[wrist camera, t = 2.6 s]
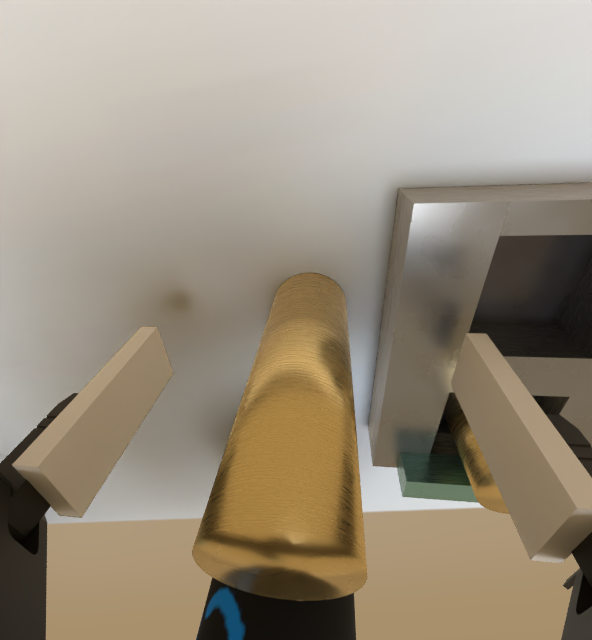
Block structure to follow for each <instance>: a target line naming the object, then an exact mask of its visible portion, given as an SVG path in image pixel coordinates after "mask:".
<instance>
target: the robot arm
mask: <svg viewBox="0 0 592 640" xmlns="http://www.w3.org/2000/svg"><path fill="white" fill-rule="evenodd" d="M172 375H173V370H172V367H171V364H170V362H169V359H168V356H167V353H166V350H165V347H164V345H163V342H162V339H161V336H160V333H159V330H158V327H141V328H140V329H139V330H138V331H137V332H136V333H135V334H134V335H133V336H132V337H131V338H130V339H129V340H128V341H127V343H126V344H125V345H124V346H123V347H122V348H121V349H120V350H119V351H118V352H117V353H116V354H115V355H114V356H113V357H112V359H111V360H110V361H109V362H108V363H107V364H106V365H105V366H104V367H103V368H102V369H101V370H100V371H99V372H98V373H97V375H96V376H95V377H94V378H93V379H92V380H91V381H90V382H89V383H88V384H87V385H86V386H85V387H84V388H83V389H82V391H81V392H80V393H79V394H78V393H74V394H72V395H71V396H69V397H68V398H66V399H65V400H63V401H62V402H60V403H59V404H58V405H57V406H56V407H55V408H54V409H53V410H52V411H51V412H50V413H49V414H48V415H47V418H44V419H43V420H42V421H41V422H40V423H39V424H38V425H37V428H34V429H33V430H32V431H31V432H30V434H29V435H28V436H27V437H26V438H25V439H24V440H23V441H22V442H21V443H20V444H19V445H18V446H17V447H16V448H15V449H14V450H13V451H12V452H11V453H10V454H9V455H8V456H7V457H6V458H5V459H4V460H3V461H2V462H1V463H0V640H46V639H45V638H46V637H45V636H46V568H47V565H46V563H47V521H46V518H45V516H44V514H45V513H46V511H47V510H48V509H49V507H50V506H51V507H52V508H53V509H54V510H55V511H56V512H57V513H58V515H59V516H69V517H80V518H82V516H83V515H84V513H85V512H86V510H87V508H88V507H89V505H90V504H91V502H92V500H93V499H94V497H95V496H96V494H97V493H98V491H99V489H100V488H101V486H102V485H103V483H104V482H105V480H106V478H107V477H108V475H109V474H110V472H111V471H112V469H113V467H114V466H115V464H116V463H117V461H118V460H119V458H120V456H121V455H122V453H123V452H124V450H125V449H126V447H127V445H128V444H129V442H130V441H131V439H132V438H133V436H134V434H135V433H136V431H137V430H138V428H139V426H140V425H141V423H142V422H143V420H144V419H145V417H146V415H147V414H148V412H149V411H150V409H151V408H152V406H153V404H154V403H155V401H156V400H157V398H158V397H159V395H160V393H161V392H162V390H163V389H164V387H165V386H166V384H167V382H168V381H169V379H170V378H171V376H172ZM451 386H452V388H453V390H454V392H455V395H456V397H457V399H458V401H459V403H460V406H461V408H462V410H463V412H464V414H465V417H466V419H467V421H468V423H469V425H470V428H471V430H472V432H473V434H474V436H475V439H476V441H477V443H478V445H479V447H480V450H481V452H482V454H483V456H484V458H485V461H486V463H487V465H488V467H489V469H490V472H491V474H492V476H493V478H494V480H495V483H496V485H497V487H498V489H499V491H500V494H501V496H502V498H503V500H504V503H505V505H506V507H507V509H508V511H509V514H510V516H511V518H512V520H513V522H514V525H515V527H516V529H517V531H518V533H519V535H520V538H521V540H522V542H523V544H524V547H525V549H526V551H527V553H528V555H529V558H530V560H537V561H547V562H557V563H562V562H563V561H564V560H565V559H566V558H567V557H568V556H569V555H570V554H571V553H572V554H573V556H574V557H575V559H576V561H577V563H578V564H579V566H580V569H579V570H578V571H576V572H575V573H574V574H573V575H572V576H571V577H569V578H568V579H567V580H566V582H565V583H564V585H563V586H564V587H565V588H567V589H570V588H571V587H572V586H573V590H572V595H571V599H570V603H569V607H568V612H567V617H566V621H565V626H564V630H563V634H562V639H561V640H592V447H591V444H590V443H589V442H588V440H587V439H586V438H585V437H584V435H583V434H582V433H581V432H580V430H579V429H578V428H576V427H575V426H574V425H573V424H571V423H570V422H569V421H567V420H566V419H565V418H564V417H562V416H561V415H551V414H545V413H544V412H543V410H542V409H541V408H540V406H539V405H538V404H537V402H536V401H535V399H534V398H533V397H532V395H531V394H530V393H529V391H528V390H527V389H526V387H525V386H524V384H523V383H522V382H521V380H520V379H519V378H518V376H517V375H516V373H515V372H514V371H513V369H512V368H511V367H510V365H509V364H508V363H507V361H506V360H505V358H504V357H503V356H502V354H501V353H500V352H499V350H498V349H497V347H496V346H495V345H494V343H493V342H492V341H491V339H490V338H489V337H488V335H487V334H481V333H466V335H465V338H464V341H463V345H462V348H461V351H460V354H459V357H458V361H457V364H456V367H455V370H454V373H453V376H452V380H451Z"/></svg>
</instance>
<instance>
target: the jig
mask: <svg viewBox="0 0 592 640" xmlns="http://www.w3.org/2000/svg"><path fill="white" fill-rule="evenodd" d="M466 333H481V334H487V335H488V337H489V338H490V339H491V341H492V342H493V343H494V345H495V346H496V347H497V349H498V350H499V352H500V353H501V354H502V356H503V357H504V358H505V360H506V361H507V363H508V364H509V365H510V367H511V368H512V369H513V371H514V372H515V373H516V375H517V376H518V378H519V379H520V380H521V382H522V383H523V384H524V386H525V387H526V389H527V390H528V391H529V393H530V394H531V395H532V397H533V398H534V399H535V401H536V402H537V404H538V405H539V406H540V408H541V409H542V410H543V412H544V413H545V414H551V415H561V416H562V417H564V418H565V419H566V420H567V421H569V422H570V423H571V424H573V425H574V426H575V427H576V428H578V429H579V430H580V432H581V433H582V434H583V435H584V437H585V438H586V439H587V440H588V442H589V443H590V444H591V447H592V183H567V184H533V185H499V186H465V187H432V188H399V189H398V197H397V205H396V213H395V220H394V228H393V236H392V244H391V252H390V260H389V267H388V275H387V283H386V291H385V299H384V307H383V314H382V322H381V330H380V338H379V346H378V354H377V362H376V369H375V377H374V385H373V393H372V401H371V409H370V416H369V424H368V430H369V438H370V446H371V455H372V463H373V466H381V467H396V468H397V470H398V475H399V481H400V486H401V491H402V497H413V498H426V499H439V500H453V501H466V502H479V503H480V504H481V505H482V506H484V507H485V508H487V509H489V510H492V511H496V512H500V513H507V514H509V511H508V509H507V507H506V505H505V503H504V500H503V498H502V496H501V494H500V491H499V489H498V487H497V485H496V483H495V480H494V478H493V476H492V474H491V472H490V469H489V467H488V465H487V463H486V461H485V458H484V456H483V454H482V452H481V450H480V447H479V445H478V443H477V441H476V439H475V436H474V434H473V432H472V430H471V428H470V425H469V423H468V421H467V419H466V417H465V414H464V412H463V410H462V408H461V406H460V403H459V401H458V399H457V397H456V395H455V392H454V390H453V388H452V386H451V380H452V376H453V373H454V370H455V367H456V364H457V361H458V357H459V354H460V351H461V348H462V345H463V341H464V338H465V335H466Z"/></svg>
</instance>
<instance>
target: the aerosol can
mask: <svg viewBox="0 0 592 640" xmlns="http://www.w3.org/2000/svg"><path fill="white" fill-rule="evenodd" d="M354 609H355V608H354V593H352V594H349V595H347V596H343V597H340V598H335V599H329V600H318V601H297V600H285V599H277V598H271V597H266V596H261V595H257V594H253V593H249V592H246V591H243V590H240V589H237V588H234V587H231V586H229V585H227V584H224V583H222V582H220V581H218V580H216V579H215V578H213V577H212V581H211V585H210V589H209V593H208V596H207V601H206V605H205V608H204V612H203V616H202V620H201V623H200V627H199V631H198V634H197V638H196V640H356V631H355V610H354Z"/></svg>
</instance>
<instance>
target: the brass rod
mask: <svg viewBox="0 0 592 640" xmlns="http://www.w3.org/2000/svg"><path fill="white" fill-rule="evenodd" d="M192 554H193V558H194V560H195V562H196V563H197V565H198V566H199V567H200V568H201V569H202V570H203V571H205V572H206V573H207V574H208V575H210V576H211V577H213V578H215V579H216V580H218V581H220V582H222V583H224V584H227V585H229V586H231V587H234V588H237V589H240V590H243V591H246V592H249V593H253V594H257V595H261V596H266V597H271V598H277V599H285V600H297V601H318V600H329V599H335V598H340V597H343V596H347V595H349V594H352V593H354V592H356V591H357V590H359V589H360V588H362V587H363V585H364V584H365V583H366V580H367V565H366V553H365V539H364V526H363V513H362V500H361V487H360V474H359V461H358V449H357V436H356V423H355V410H354V397H353V384H352V371H351V358H350V346H349V333H348V320H347V307H346V299H345V296H344V293H343V291H342V289H341V288H340V287H339V286H338V284H337V283H335V282H334V281H333V280H331V279H330V278H328V277H326V276H324V275H320V274H316V273H303V274H298V275H295V276H293V277H291V278H289V279H288V280H286V281H285V282H284V283H283V284H282V285H281V286H280V288H279V289H278V291H277V293H276V296H275V299H274V302H273V305H272V308H271V311H270V314H269V317H268V320H267V323H266V326H265V330H264V333H263V336H262V339H261V342H260V345H259V348H258V351H257V354H256V357H255V360H254V363H253V366H252V369H251V372H250V375H249V378H248V381H247V384H246V388H245V391H244V394H243V397H242V400H241V403H240V406H239V409H238V412H237V415H236V418H235V421H234V424H233V427H232V430H231V433H230V436H229V439H228V442H227V446H226V449H225V452H224V455H223V458H222V461H221V464H220V467H219V470H218V473H217V476H216V479H215V482H214V485H213V488H212V491H211V494H210V497H209V500H208V504H207V507H206V510H205V513H204V516H203V519H202V522H201V525H200V528H199V531H198V534H197V537H196V540H195V543H194V546H193V550H192Z"/></svg>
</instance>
